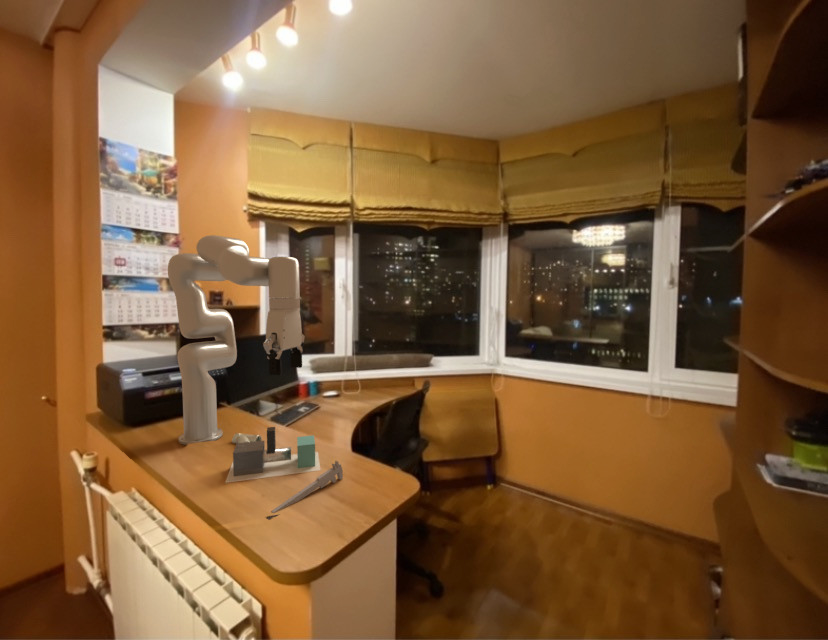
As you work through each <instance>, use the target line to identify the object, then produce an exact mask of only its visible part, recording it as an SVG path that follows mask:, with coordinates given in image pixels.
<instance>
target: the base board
mask: <svg viewBox="0 0 828 640" xmlns="http://www.w3.org/2000/svg"><path fill="white" fill-rule="evenodd" d="M318 471H321V464H320V456H319V452H318V451H315V466H312V467H304V468H298V455H297V453H294V454H291V460H286V461H278V462H270V463H265V464H264V470H263V473H257V474H249V475H242V476H234V473H233V462H232V463H231V466H230V469H229V471H228V474H227V477H226V479H225V483H234V482H243V481H250V480H257V479H258V480H259V479H265V478H273V477H281V476H288V475H295V474H302V473H303V474H304V473H311V472H318Z"/></svg>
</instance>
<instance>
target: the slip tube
mask: <svg viewBox="0 0 828 640" xmlns="http://www.w3.org/2000/svg"><path fill="white" fill-rule="evenodd" d="M276 445H277V442H276V426H271V427H270V426H267V430H266V449H265V450H263V463H270V462H278V461H286V460H291V455H292V447H291V446H285V447H276Z"/></svg>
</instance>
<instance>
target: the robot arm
mask: <svg viewBox="0 0 828 640" xmlns="http://www.w3.org/2000/svg"><path fill="white" fill-rule="evenodd" d="M196 252H197V253H193V252H192V253H191V252H190V253H187V252H186V253H177V254H175V255H173V256H171V257H170V258H169V261H168V264H167V276H168V281H169V284H170V286H171V289H172V290H173V293H174V297H175V301H176V309H177V310H176V311H177V318H178V319H177V320H178V325H179V330H180V331H179V332H180V333H181V335H182V336H183V337H184V338H186V339H204V338H205V339H206V338H214V340H212V341H208V340H207V341H201V342H200V341H199V342H192V343H187V344H185V345H183V346H182V347H180V349H179V350H178V352H177V355H176V356H177V363H178V366H179V372H180V376H181V378H180V379H181V386H182V387H181V389H182V391H181V393H182V414H183V415H182V417H183V433H182V434H180V436H179V437H178V443H180V444H181V445H186V446H188V444H195V443H197V444H198V443H204V442H214V441H217V440H219V439H220V438H221V437H223V433H224V432H223V430H222V429H221V428H218V414H217V413H218V411H217V410H218V409H217V408H218V407H217V385H216V384H217V383H216V381H215V379H214V378H213V377H212V376H211V375H210V374H209V371H214V370H220V369H224V368H229V367H232V366H233V365H234V364H236V361H237V357H238V354H237V353H238V349H237V342H236V341H237V340H236V335H235V334H236V331H235V327H234V320H233V317H232V315H231V313H230V312H228V311H227V310H226V309H223V308H209V307H208V303H207V300H208V299H207V295H206V293H205V291H204V290H203V289H202V288H201V286H200V285H199V284H198V283H196V282H197V281H199V282H201V281H202V282H225V281H229V282H231V283H233V284H236V285H239V286H246V287H251V286H252V287H268V307H269V308H268V309H269V311H268V312H267V316H266V317H267V318H266V327H265V340H264V342H262V344H263V345H262V346H263V348H264V353H265V355H266V356H267V358H266V359H268V373H269V374H268V375H270V376H281V375H282V374H283V367H282V366H283V365H282V358H281V356H282V353H283V351H288V350H290V351H291V352H290V367H291V368H296V369H297V368H298V369H301V368H302V367H303V351H304V350H303V348H304V345H305V344H304V342H305V338H306V337H305V335H304V334H303V333H302V332H303V331H302V319H301V314H300V312H301V301H300V300H301V298H300V297H301V296H300V293H301V292H300V290H301V289H300V263H299V260H298V259H297V258H296V257H291V256H272V257H270V258H269V257H267V258H266V257H259V256H250V249H249V247H248V245H247V243H246V242H245V241H244V240H242V239H241V238H235V237H229V236H222V235H213V234H210V235H206V236H202V237H201V238H200V239H199V240H198V242H197V243H196Z"/></svg>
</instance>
